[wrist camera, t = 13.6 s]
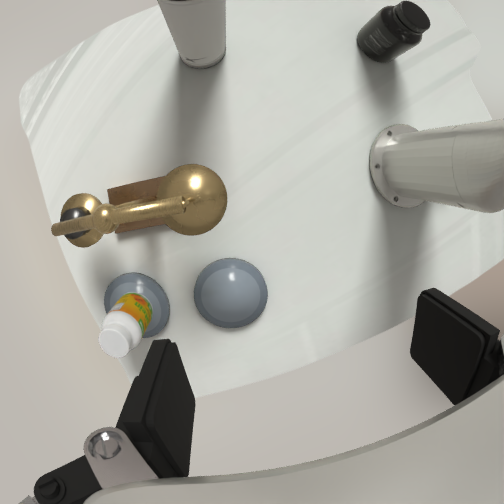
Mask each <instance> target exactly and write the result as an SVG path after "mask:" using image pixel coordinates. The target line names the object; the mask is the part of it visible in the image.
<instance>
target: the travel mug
mask: <svg viewBox="0 0 504 504" xmlns="http://www.w3.org/2000/svg"><path fill="white" fill-rule="evenodd" d="M157 1H158V3H159V5H160V8H161V10H162V13H163V15H164V18H165V20H166V23H167V25H168V27H169V30H170V32H171V35H172V37H173V40H174V42H175V45H176V47H177V50H178V52H179V55H180V57H181V59H182V61H183V62H184V63H185V64H186V65H188V66H190V67H193V68H207V67H211V66H213V65H215V64H217V63H218V62H219V61H220V60H221V59H222V58H223V57H224V54H225V51H226V0H157Z"/></svg>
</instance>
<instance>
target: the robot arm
mask: <svg viewBox="0 0 504 504" xmlns="http://www.w3.org/2000/svg"><path fill="white" fill-rule="evenodd" d="M375 166H376V168H375ZM370 170H371V175H372V178H373V181H374V183H375V186H376V187H377V189H378V191H379V192H380V194H381V195H382V196H383V197H384V198H385V199H386V200H387V201H389V202H390V203H392V204H394V205H396V206H399V207H405V208H411V207H415V206H418V205H420V204H421V203H423V202H424V201H430V202H435V203H440V204H446V205H451V206H455V207H460V208H465V209H470V210H474V211H479V212H484V213H495V212H498V211H501V210H503V209H504V119H499V120H493V121H486V122H478V123H470V124H462V125H455V126H448V127H441V128H435V129H428V130H422V131H418V130H417V129H415V128H413V127H411V126H409V125H404V124H398V125H393V126H389V127H387V128H385V129H384V130H383V131H381V132H380V133H379V135H378V136H377V137H376V139H375V141H374V143H373V145H372V149H371V152H370ZM499 332H500V330H499V329H497V328H496V327H494V326H493V325H491V324H490V323H488V322H487V321H485V320H484V319H482V318H481V317H480V316H478V315H477V314H475V313H473V312H472V311H470V310H469V309H467V308H466V307H464V306H463V305H461V304H460V303H458V302H457V301H455V300H453V299H452V298H450V297H449V296H447V295H446V294H444V293H442V292H441V291H439V290H438V289H436V288H431V289H428V290H424V291H422V292H421V294H420V296H419V297H418V300H417V309H416V318H415V324H414V331H413V337H412V343H411V348H410V354H411V357H412V359H414V361H415V362H416V363H417V364H418V365H419V366H420V367H421V368H422V370H423V371H424V372H425V373H426V374H427V375H428V376H429V377H430V378H431V379H432V381H433V382H434V383H435V384H436V385H437V386H438V387H439V388H440V390H441V391H442V392H443V393H444V394H445V395H446V396H447V398H448V399H449V400H450V401H451V402H452V403H453V404H454V405H455V406H453V407H452V408H450V409H448V410H446V411H444V412H442V413H440V414H438V415H437V416H435V417H433V418H431V419H429V420H427V421H424V422H422V423H420V424H418V425H416V426H414V427H412V428H409V429H407V430H405V431H403V432H400V433H398V434H395V435H393V436H390V437H388V438H385V439H383V440H380V441H378V442H375V443H372V444H369V445H366V446H363V447H360V448H357V449H354V450H351V451H348V452H344V453H341V454H338V455H334V456H331V457H327V458H323V459H319V460H315V461H311V462H306V463H302V464H297V465H293V466H287V467H281V468H276V469H269V470H263V471H256V472H248V473H239V474H230V475H218V476H198V477H188V475H189V465H190V454H191V443H192V432H193V422H194V413H195V398H194V394H193V392H192V389H191V386H190V383H189V381H188V378H187V375H186V372H185V369H184V366H183V363H182V360H181V357H180V354H179V351H178V347H177V345H176V343H175V342H173V343H171V341H170V339H162V340H154V341H153V342H152V345H151V347H150V349H149V352H148V354H147V357H146V359H145V362H144V364H143V367H142V369H141V372H140V374H139V376H137V377H135V379H134V381H133V383H132V386H131V388H130V391H129V393H128V396H127V398H126V401H125V403H124V406H123V409H122V412H121V414H120V417H119V420H118V422H117V425H116V427H115V428H113V427H106V428H101V429H98V430H96V431H94V432H93V433H91V434H90V435H89V436H88V437H87V439H86V441H85V443H84V453H85V455H84V456H82V457H80V458H78V459H76V460H74V461H72V462H70V463H68V464H66V465H64V466H62V467H60V468H58V469H55V470H53V471H51V472H49V473H47V474H45V475H43V476H42V477H40V478H39V479H38V480H37V482H36V484H35V486H34V495H35V496H34V497H33V498H32V497H30V496H28V497H26V498H25V499H24V500H23V501H22V502H20V503H19V504H504V334H503V335H502V337H501V340H500V341H499V340H498V335H499Z"/></svg>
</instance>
